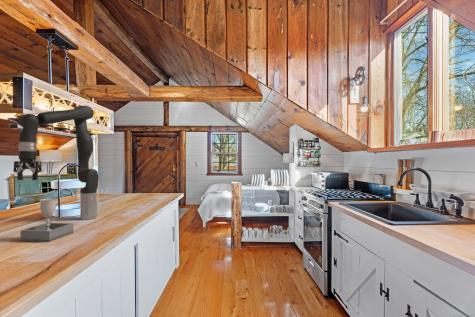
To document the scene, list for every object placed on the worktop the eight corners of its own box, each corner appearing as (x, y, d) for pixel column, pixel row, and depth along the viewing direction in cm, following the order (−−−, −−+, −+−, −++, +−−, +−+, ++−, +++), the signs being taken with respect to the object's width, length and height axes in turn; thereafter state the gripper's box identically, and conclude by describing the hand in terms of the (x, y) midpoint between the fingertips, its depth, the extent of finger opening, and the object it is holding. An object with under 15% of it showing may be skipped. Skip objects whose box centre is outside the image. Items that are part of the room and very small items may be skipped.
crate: (47, 231, 131) (47, 222, 131) (73, 232, 130) (73, 223, 130) (20, 240, 116) (20, 230, 116) (49, 241, 115) (49, 231, 115)
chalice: (40, 237, 118) (41, 200, 118) (36, 235, 122) (37, 199, 122) (58, 234, 124) (59, 199, 124) (54, 231, 128) (54, 197, 128)
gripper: (45, 150, 135) (45, 179, 135) (22, 151, 136) (22, 179, 136) (33, 150, 128) (33, 180, 127) (8, 150, 129) (8, 180, 129)
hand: (27, 180), depth 132 cm, fingers open, 8 cm apart
